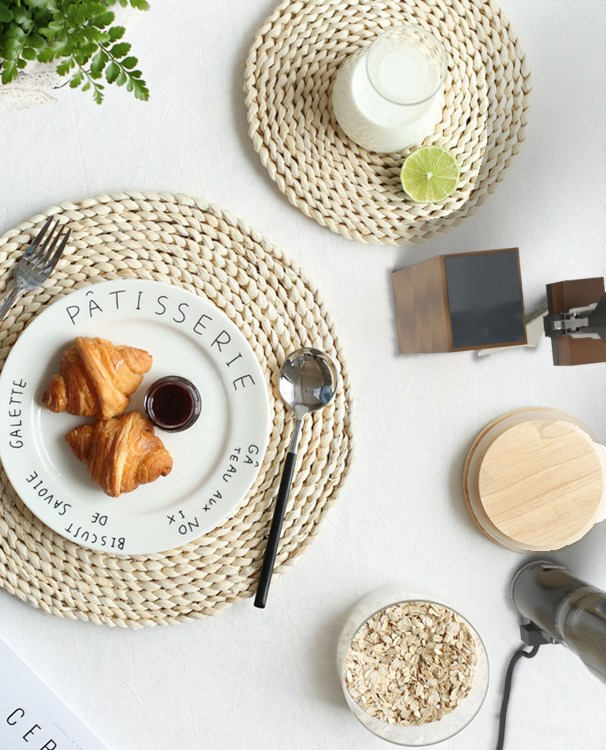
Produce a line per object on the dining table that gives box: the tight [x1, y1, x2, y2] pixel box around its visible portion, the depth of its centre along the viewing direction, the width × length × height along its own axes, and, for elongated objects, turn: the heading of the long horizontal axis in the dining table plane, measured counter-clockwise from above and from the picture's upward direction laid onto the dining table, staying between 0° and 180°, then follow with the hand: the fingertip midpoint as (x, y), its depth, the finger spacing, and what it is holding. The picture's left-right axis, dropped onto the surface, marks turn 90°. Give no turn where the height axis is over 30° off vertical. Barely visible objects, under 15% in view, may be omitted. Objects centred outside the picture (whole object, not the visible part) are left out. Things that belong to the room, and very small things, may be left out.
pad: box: [444, 251, 525, 348], centre depth 101 cm, size 11×9×1 cm
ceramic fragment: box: [476, 300, 548, 357], centre depth 122 cm, size 14×5×4 cm, turn 120°
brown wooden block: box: [545, 276, 606, 367], centre depth 99 cm, size 10×5×4 cm, turn 6°
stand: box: [390, 246, 528, 355], centre depth 112 cm, size 12×10×22 cm
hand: (570, 323), depth 101 cm, fingers closed on brown wooden block, 5 cm apart
